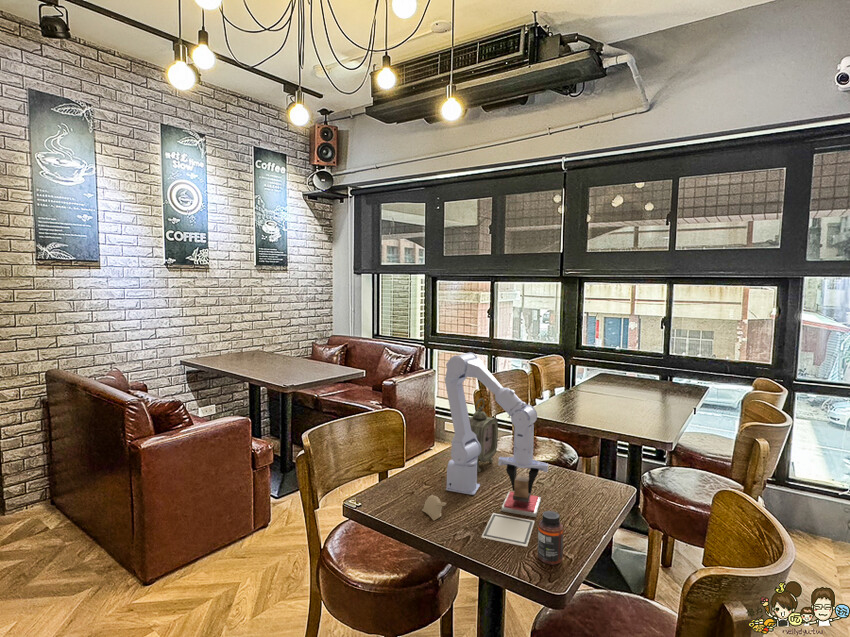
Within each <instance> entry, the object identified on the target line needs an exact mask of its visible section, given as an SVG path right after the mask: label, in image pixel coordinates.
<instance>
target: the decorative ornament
mask: <svg viewBox="0 0 850 637" xmlns="http://www.w3.org/2000/svg"><path fill="white" fill-rule="evenodd" d="M424 502H425V503H424V505H423V508H422V509H421V511H422V512H424V513H425V514H426V515H428V516H429V517H430V518H431V520H432V521H436V520H437V519H440V517H442V515H443V514H442V508H443V507H445V506H447V502H442V501H441V499H440V497H438V496H436V495H434V494H431V495H429V496H428V497H427V498H426V500H425V501H424Z"/></svg>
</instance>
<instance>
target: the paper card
mask: <svg viewBox="0 0 850 637" xmlns="http://www.w3.org/2000/svg"><path fill="white" fill-rule="evenodd" d="M535 522H536V521H535V520H533V519H527V518H523V517H522V518H521V517H516V516H512V515H506V514H501V513H496V512H495V513H494V512H492V514H491V516H490V518H489V519H488V522H487V524H486V527H485V528H484V531H483V533H482V534H481V536H480V537H481V539H485V538H486V539H485V540H491V541H496V542H501V543H505V544H511V545H515V546H518V547H519V546H520V547H525V548H527V547H528V546H529V542H530V538H531V535H532V533H533V532H532V531H533V528H534V525H535Z"/></svg>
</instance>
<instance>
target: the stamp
mask: <svg viewBox="0 0 850 637" xmlns="http://www.w3.org/2000/svg"><path fill="white" fill-rule="evenodd" d="M528 489H529V476H528V475H520V474H516V478H515V483H514V491H513V492H514V495H513V500H518V501H523V502H529V499H530V497H531V495H532V493H531V494H530V493H528Z"/></svg>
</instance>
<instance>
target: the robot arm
mask: <svg viewBox="0 0 850 637" xmlns="http://www.w3.org/2000/svg"><path fill="white" fill-rule="evenodd" d="M445 366H446V373H445V378H444V383H445V389H446V395H447V399H448V405H449V411H450V415H451V421H452V426H453V431H454V432H453V433H454V435H453V438H452V440H451V441H450V443H451V451H450V456H451V459H449V461H448V463H447V468H446V488H445V490H446V491H447V492H455V493H458V494H459V493H460V494H463V495H464V494H465V495H470V496H475V495H476V493H477V491H478V489H479V488H480V487H481V483H478V472H477V457H478V456H479V455H480V453H481V445H480V443H479V442H478V440H477V437H476V434H475V433H474V432H472V431H471V426H470V421H469V418H470V416H469V411H468V405H467V400H466V395H465V390H464V385H463V384H464V382H465V380H466V379H467V378H474V379H475V378H476V379H477V380H478V381H479V382H480V383H482V385H483V386H484V387H486V388H487V389H488V390H489V391H490V392H491V393H492V394H493V395H494V396H495V398H494V399H495V402H496V403H497V404H498V405H499V406H500V407H501V408H502V409H503V410H504V411H505V412H506V413H507V414H508V415H509V416H510V421H511V424H512V425H513V427H514V430H513V432H514V433H513V434H514V435H513V456H512V457H511V456H506V457H505V456H499V457H498V464H497V465H498V466H503V465H504V466H506V473H507V475H508V478H509V480H510V482H511V487H512V492H514V483H515V478H516V476H517V470H518V468H519V469H529V471H528V477H529V489H528V493H530V494H531V495H532V490H533V486H534V482H535V480H536V479H537V476H538V474H539V471H543V472H544V473H548V472H549V463H548V462H547V463H546V462H542V461H539V460H535V459H534V437H535V436H534V431H535V430H534V428H535V424H534V423H535V422H536V421H537V419H538V413H537V411H536V409H535V408H534V406H532V405H530V404H527V402H525V401H523V400H521V398H519V397H518V395H517V394H516V391H515V390H514V389H510V387H504V386H502V384H501V383H500V382H499V381H498V380H497V378H495V376H494V375H493V374H492V373H491V371H490V370H488V368H487V367H486V366H485V364H484V362H483V360H482V359H481V358H480V357H478V355H476V354H475V353H474V352H471V351H469V352H466V353H463V354H458V355H453V356H451V357H450V358H449V359H448V360H447V362H446V364H445Z"/></svg>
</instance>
